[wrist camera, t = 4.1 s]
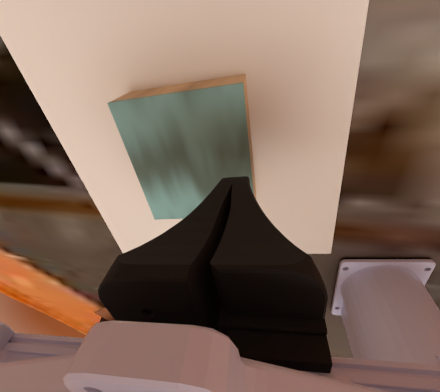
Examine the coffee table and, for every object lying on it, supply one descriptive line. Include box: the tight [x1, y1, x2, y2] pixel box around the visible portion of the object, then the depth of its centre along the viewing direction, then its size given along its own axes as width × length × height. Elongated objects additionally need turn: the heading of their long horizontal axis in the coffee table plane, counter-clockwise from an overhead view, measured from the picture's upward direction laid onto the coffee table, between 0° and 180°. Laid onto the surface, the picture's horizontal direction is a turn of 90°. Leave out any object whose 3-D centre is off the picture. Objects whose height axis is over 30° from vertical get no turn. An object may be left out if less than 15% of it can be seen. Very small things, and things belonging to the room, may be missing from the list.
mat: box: [0, 0, 369, 254], centre depth 18 cm, size 24×22×1 cm
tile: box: [107, 74, 256, 220], centre depth 17 cm, size 9×3×8 cm
